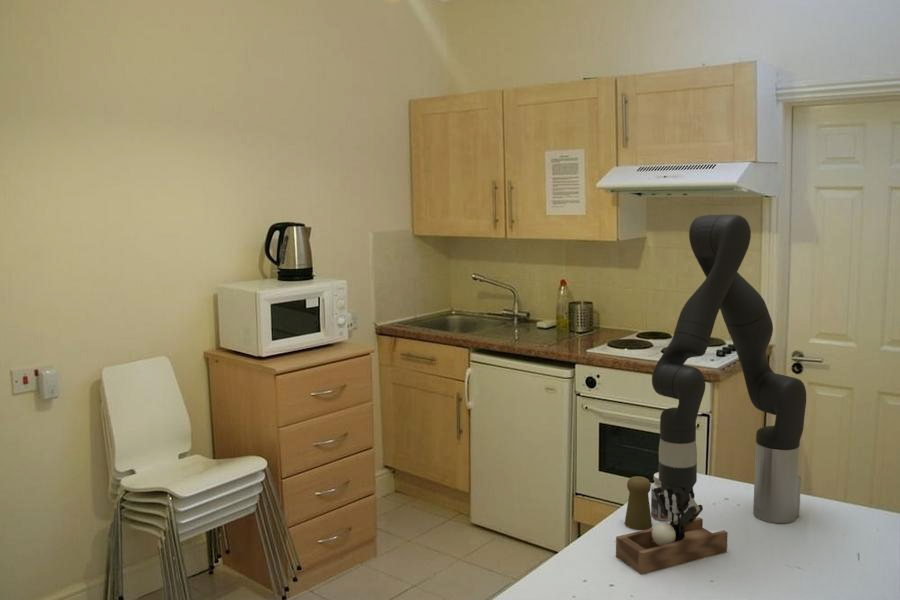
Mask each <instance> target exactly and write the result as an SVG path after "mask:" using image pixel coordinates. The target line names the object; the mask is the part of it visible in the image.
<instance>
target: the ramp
mask: <svg viewBox="0 0 900 600" xmlns="http://www.w3.org/2000/svg"><path fill="white" fill-rule="evenodd" d="M703 521H704V519H703V518H702V517H698V516H697V517H696V518H695V520H694V521H693V522H692V523H689V524H685V531H684V532H685V533H684V534H685V536H684V538H683V540H680V541H674V542H673V543H670V544H666V545H662V546H660V545H658V544H657V543H655V541H654V540H653V538H652V529H653V527H651V528H650V529H647V530H637V531H635V532H630V533H627V534H623V535H617V536H616V537H615V558H617V559H618V560H620V561H621V562H623V563H624V564H625V565H627V566H629V567H630V568H631V569H632V570H634V571H636V572H637V573H639V574H640V575H645V574H648V573H653V572H656V571H659V570H664V569H668V568H671V567H675V566H679V565H683V564H687V563H691V562H695V561H698V560H702V559H705V558H709V557H712V556H713V557H715V556H717V555H720V554H725V553H727V552H728V534H729V532H728V531H726V530H720V531H716V532H711V531H709V530H708V529H706V528H704V527H703V523H704V522H703Z"/></svg>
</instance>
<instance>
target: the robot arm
mask: <svg viewBox="0 0 900 600" xmlns="http://www.w3.org/2000/svg"><path fill="white" fill-rule="evenodd" d="M751 231H752V230H751V227H750V223H749V222H748V220H747V219H746V218H745V217H743V216H742V215H739V214H705V215H699V216H697V217H696V218H694V219H693V220H692V223H691V224H690V226H689V231H688V238H689V245H690V246H691V247H690V248H691V250H692V252H693V254H694V257H695V259H696V260H697V262H698V265H699V266H700V268H701V270H702V272H703V274H704V276H705V279H704V280H703V282H702V283H701V284H700V286H699V287H698V288H697V289H696V290H695V291H694V293H692V295H691V296H690V297H689V298H688V300H686V302H685V304H684V305H683V307H682V309H681V311H680V313H679V315H678V319H677V322H676V325H675V329H674V332H673V336H672V339H671V341H670V342H669V343H668V345H667V347H666V348H665V350H664V351H663V353H662V355H661V357H660V358H659V359H658V361H657V363H656V364H655V366H654V368H653V371H652V373H651V374H652V375H651V385H652V388H653V390H654V392H655V393H657V394H658V395H660V396H662V397H666V398H671V399H674V400H678V405H677V407H669V408H665V409H663V411H662V412H661V414H660V419H659V445H658V472H659V480H660V482H661V486H660V487H657V488H654V493H655V496H656V498H657V501H658V503H659V505H660V508H661V510H662V513H663V515H664V516H666V515H667V516H668V520H669V521H668V522H669V524H670V525H671V526H672V527H673V528H674V530H675V533H676V538H675V541H680V540H683V538H684V536H685V534H684V533H685V532H684V531H685V524H689V523H692V522H693V521H694V520H695V518H698V516H699V515H700V514H701V512H703V509H704V508H703V505H702V504H698V503H697V502H696V500H695V492H694V486H695V484H696V483H697V481H698V480H697V477H698V476H697V475H698V474H697V473H698V471H697V470H698V468H697V467H698V466H697V465H698V448H697V439H696V438H697V431H696V430H697V425H696V424H697V418H698V415H699V410H700V407H701V403H702V401H703V398H704V395H705V391H706V379H705V376H704V374H703V372H702V371H701V370H700V369H699V368H697V367H695V366H690V365H685V363H686V362H687V360H688V359H691V358H699V357H703V356H704V355H705V354H706V352H707V349H708V346H709V343H710V340H711V336H712V333H713V329H714V325H715V322H716V319H717V316H718V315H719V311H720V313H721V316H722V318H723V322H724V324H725V327H726V329H727V332H728V334H729V336H730V338H731V340H732V341H731V342H732V343H733V346H734V349H735V351H736V355H737V358H738V360H739V363H740V366H741V370H742V374H743V377H744V378H743V379H744V382H745V386H746V389H747V393H748V396H749V399H750V402H751V404H752V405H753V406H754V408H756V409H757V410H759V411H760V412H763V413H767V414H769V415H770V414H771V415H773V416H775V421H774V425H767V426H762V427H760V428H759V429H757V431H756V434H755V459H754V483H753V484H754V485H753V486H754V487H753V505H752V506H753V511H752V512H753V516H755V517H756V518H758V519H760V520H762V521H765V522H767V523H774V524H789V523H792V522H794V521H796V520H797V518H798V517H800V507H801V488H802V478H801V476H800V475H799V463H800V462H799V461H800V445H801V437H802V436H803V433H804V428H805V427H804V426H805V425H804V424H805V415H806V407H807V390H806V386H805V384H804V382H803V381H802V380H801V379H800V378H797V377H794V376H793V377H792V376H789V375H784V374H780V373H775V372H774V371H773V370H772V368H771V366H770V363H769V361H768V357H767V350H768V348H769V345H770V343H771V340H772V336H773V332H774V327H773V321H772V317H771V315H770V312H769V309H768V306H767V304H766V302H765V299H764V298H763V297H762V295H761V294H760V292H758V291H757V290H756V289H755V288H754V286H753V285H751V284H750V283H749V282H748V281H747V280H746V279H745V278H744V277H743V276H742V275H741V274H740V273H739V272H738V271H739V269H740V267H741V265H742V264H743V260H744V258H745V257H746V254H747V252H748V249H749V246H750V242H751V238H752V236H751V235H752V234H751V233H752V232H751ZM665 504H666V507H665Z"/></svg>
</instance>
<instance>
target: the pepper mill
mask: <svg viewBox="0 0 900 600" xmlns="http://www.w3.org/2000/svg"><path fill="white" fill-rule="evenodd" d="M626 486H627V490H628V492H629V493H628V501H627V505H626V506H627V507H626V512H625V518H624V519H625V521H624V525H625V527H626V528H628V529H630V530H634V531H643V530H647V529H651V528H653V527H652V526H653V523H652V515H651V504H650V497H649V493H650V492H651V487H652V484H651V481H650V479H648V477H647V478H646V477H644V476H638V475H636V476H632V477H630V478H628V480H627V483H626Z"/></svg>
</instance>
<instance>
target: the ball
mask: <svg viewBox="0 0 900 600" xmlns="http://www.w3.org/2000/svg"><path fill="white" fill-rule="evenodd" d="M652 528H653V529H652V538H653V540H654V541H655V543H657V544H658V545H660V546H662V545H666V544H670V543H673V542H674V541H675V538H676V533H675V530H674V528H673V527H672V526H671V525H670V523H668V522H666V521H660V522H658V523H655V525H654V526H653V527H652Z"/></svg>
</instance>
